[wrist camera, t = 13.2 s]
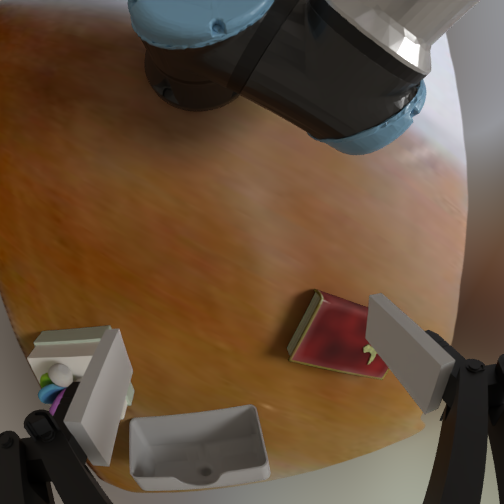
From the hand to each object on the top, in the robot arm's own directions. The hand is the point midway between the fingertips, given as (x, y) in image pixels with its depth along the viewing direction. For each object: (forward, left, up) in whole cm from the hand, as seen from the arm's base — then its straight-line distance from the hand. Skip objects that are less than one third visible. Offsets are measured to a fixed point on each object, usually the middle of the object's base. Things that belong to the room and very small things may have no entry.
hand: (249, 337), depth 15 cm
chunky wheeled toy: (+19, -27, -23) cm, 40 cm away
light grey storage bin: (+42, -11, -31) cm, 54 cm away
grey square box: (+21, -27, -30) cm, 46 cm away
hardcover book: (+23, +19, -31) cm, 43 cm away
